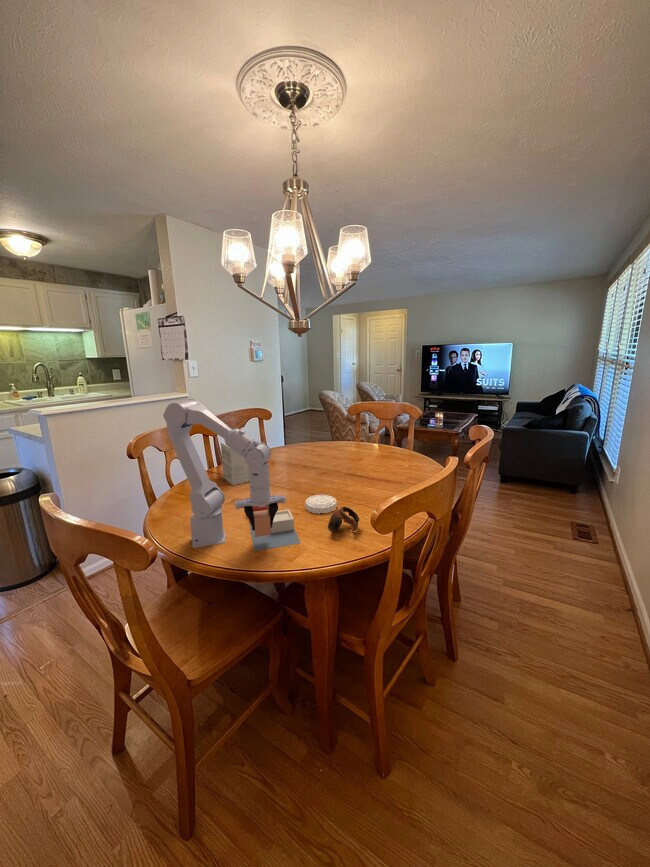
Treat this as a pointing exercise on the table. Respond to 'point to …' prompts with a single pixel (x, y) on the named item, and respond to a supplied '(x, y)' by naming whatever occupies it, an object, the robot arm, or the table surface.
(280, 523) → the base block
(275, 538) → the mat
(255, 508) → the kendama
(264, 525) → the terracotta block
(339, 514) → the brown looped piece
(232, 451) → the supplement box
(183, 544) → the table surface
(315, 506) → the mooncake
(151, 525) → the table surface
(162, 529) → the table surface
